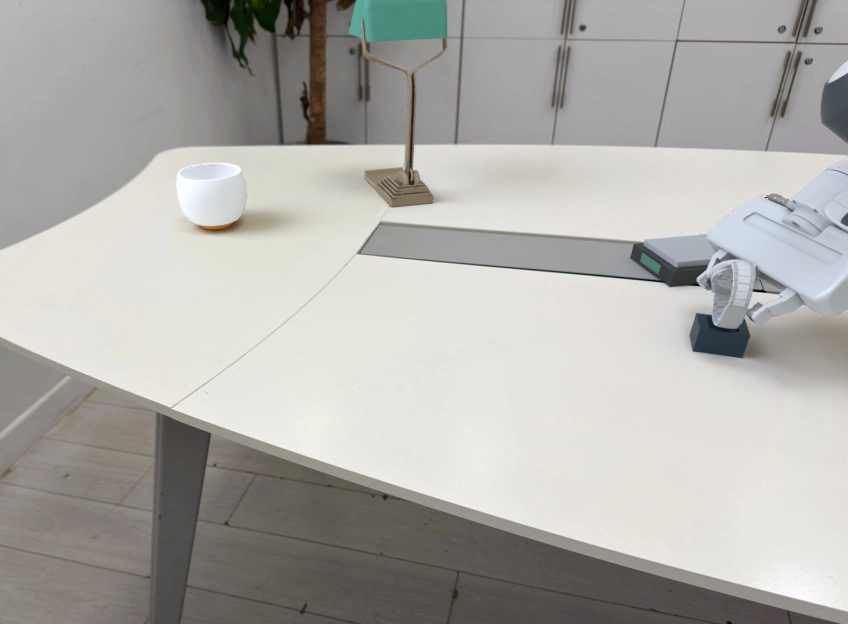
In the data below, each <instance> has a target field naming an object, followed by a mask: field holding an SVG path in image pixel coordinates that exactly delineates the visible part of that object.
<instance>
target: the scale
mask: <svg viewBox="0 0 848 624" xmlns="http://www.w3.org/2000/svg"><path fill="white" fill-rule="evenodd" d="M707 234H708V233H705V234H694V235H682V236H670V237H659V238H646V239H645V238H644V240H643V242H638V243H636V242H635V243H633V245H632V249H631V252H630V259H631V260H633V261H634V262H635V263H637V264H638V265H640V266H641V267H642V268H644V269H645V270H646V271H648V272H649V273H651V274H652V275H653V276H654V277H656V278H657V279H658V280H660V281H661V282H662V283H664V284H665V285H667V286H668V287H680V286H682V287H683V286H692V285H699V283H698V282H697V278H698V277H699V276H700V275H701V274H702V273H703V272H705V271H706V270H707V267H708V265H709V263H710V260H711V258H712V256H713V255H714V254H715V253H716V252H715V251H714V250H713V248H712V247H711V246H710V244H709V243H708V241H707V239H706V237H707ZM756 279H758V277H756Z"/></svg>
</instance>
